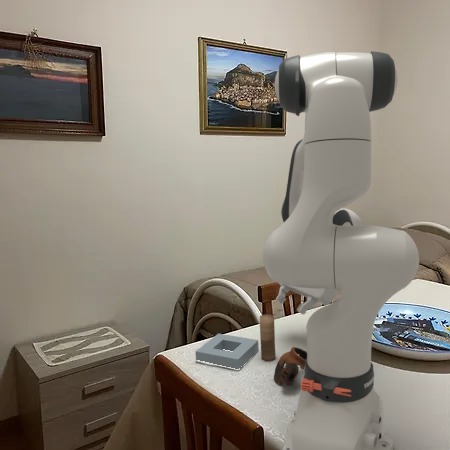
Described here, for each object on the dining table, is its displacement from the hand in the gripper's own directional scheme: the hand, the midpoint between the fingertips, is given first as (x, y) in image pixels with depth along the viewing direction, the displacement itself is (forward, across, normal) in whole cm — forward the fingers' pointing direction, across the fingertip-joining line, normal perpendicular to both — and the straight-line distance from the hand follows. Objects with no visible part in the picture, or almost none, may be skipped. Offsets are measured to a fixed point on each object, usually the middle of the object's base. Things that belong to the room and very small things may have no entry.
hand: (288, 307), depth 116 cm
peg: (+13, 0, +4) cm, 14 cm away
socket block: (+19, -6, -2) cm, 20 cm away
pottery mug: (+14, +13, +3) cm, 20 cm away
